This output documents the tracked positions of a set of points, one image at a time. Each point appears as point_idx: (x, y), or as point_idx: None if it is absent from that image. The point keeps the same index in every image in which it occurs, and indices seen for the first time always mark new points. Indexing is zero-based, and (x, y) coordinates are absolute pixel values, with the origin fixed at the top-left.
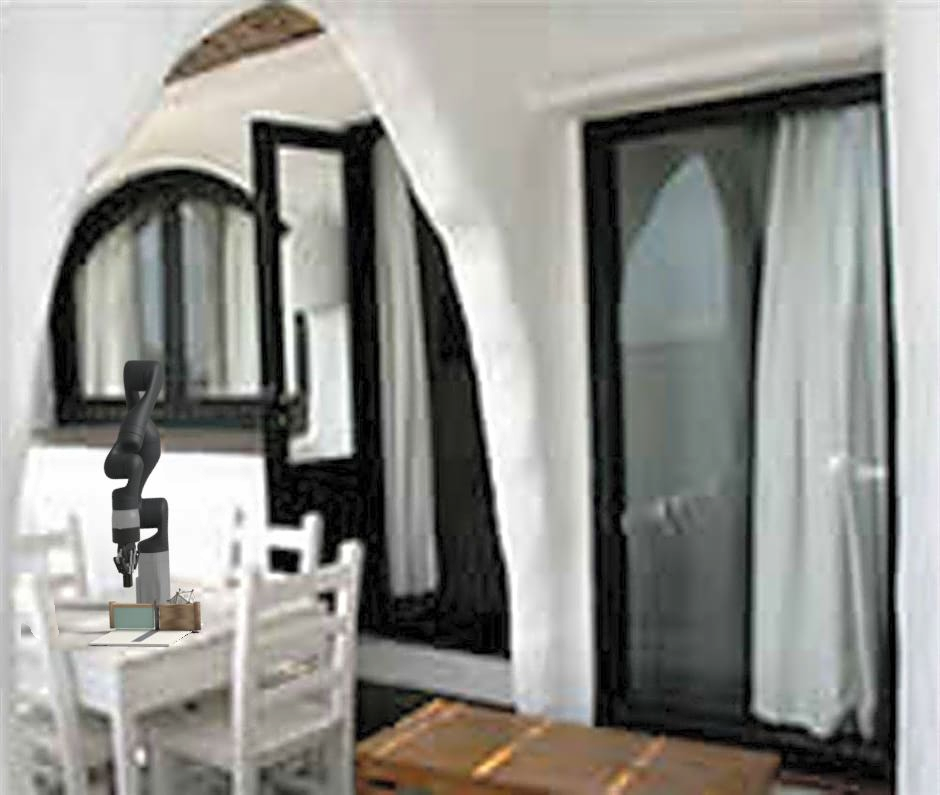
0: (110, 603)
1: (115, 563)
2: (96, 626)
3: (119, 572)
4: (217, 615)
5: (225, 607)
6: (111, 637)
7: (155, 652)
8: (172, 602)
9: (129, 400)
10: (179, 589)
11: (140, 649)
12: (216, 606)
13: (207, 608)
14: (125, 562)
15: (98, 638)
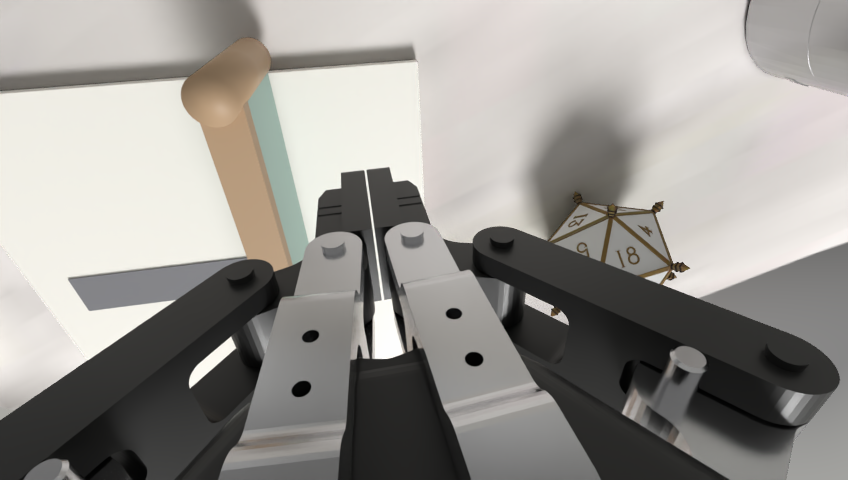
0: (183, 98)
1: (15, 426)
2: None
3: (223, 280)
4: None
5: (703, 287)
6: (85, 152)
7: (24, 395)
8: (583, 238)
9: None
10: (677, 268)
11: (25, 340)
12: (732, 254)
13: (707, 241)
14: (413, 339)
15: (23, 92)
